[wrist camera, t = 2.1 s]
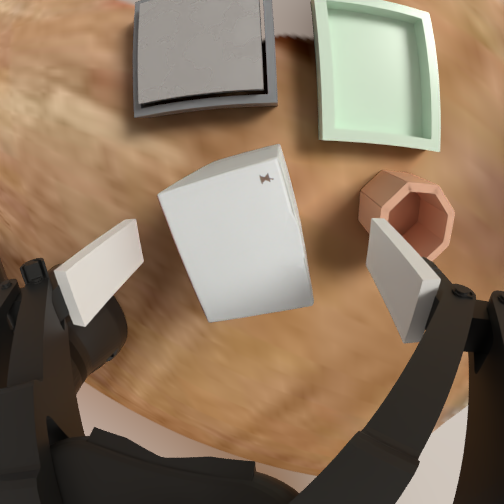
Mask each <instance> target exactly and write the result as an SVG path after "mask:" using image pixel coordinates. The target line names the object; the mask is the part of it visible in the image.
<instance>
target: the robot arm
mask: <svg viewBox="0 0 504 504" xmlns="http://www.w3.org/2000/svg"><path fill="white" fill-rule="evenodd" d="M143 262H144V260H143V255H142V250H141V244H140V239H139V234H138V228H137V222H136V219H125V220H124V221H122V222H121V223H119V224H118V225H116V226H115V227H113V228H112V229H110V230H109V231H107V232H106V233H104V234H103V235H102V236H100V237H99V238H97V239H96V240H94V241H93V242H92V243H90V244H89V245H87V246H86V247H85V248H83V249H82V250H80V251H79V252H78V253H76V254H75V255H74V256H72V257H71V258H70V259H68V260H67V261H66V262H64V263H63V264H58V265H56V266H54V267H52V268H51V269H50V270H49V271H47V269H46V266H45V262H44V259H43V258H36V259H33V260H30V261H28V262H26V263H24V264H23V265H22V266H21V267H20V271H21V273H22V276H23V279H24V282H25V288H20V287H19V285H18V282H17V280H16V279H10V280H8V278H7V275H6V273H5V270H4V267H3V265H2V262H1V259H0V504H395V503H396V502H397V500H398V499H399V497H400V496H401V494H402V493H403V491H404V490H405V488H406V487H407V485H408V484H409V482H410V480H411V479H412V477H413V475H414V474H415V472H416V470H417V468H418V465H419V462H420V461H419V460H418V458H419V456H420V454H421V452H422V450H423V448H424V446H425V444H426V442H427V441H428V439H429V437H430V435H431V433H432V431H433V429H434V426H435V424H436V422H437V420H438V418H439V416H440V413H441V411H442V409H443V406H444V404H445V402H446V399H447V397H448V394H449V392H450V389H451V386H452V384H453V381H454V378H455V375H456V372H457V369H458V366H459V363H460V360H461V357H462V354H463V351H465V352H468V356H469V402H468V420H467V430H466V439H465V447H464V454H463V460H462V466H461V471H460V476H459V481H458V485H457V490H456V494H455V498H454V502H453V504H504V292H503V291H493V293H492V294H491V297H490V299H489V302H487V301H481V300H476V295H475V294H474V292H473V291H472V290H471V289H469V288H468V287H465V286H463V285H459V284H452V283H451V282H450V281H449V280H448V278H447V277H446V276H445V275H444V274H443V273H442V272H441V271H440V269H438V267H437V266H436V265H435V264H434V263H433V262H432V261H430V260H429V259H427V258H425V257H421V256H420V255H419V254H418V253H417V252H416V251H415V250H414V248H413V247H412V246H411V245H410V244H409V243H408V242H407V241H406V240H405V239H404V238H403V237H402V236H401V235H400V234H399V233H398V232H397V231H396V230H395V229H394V228H393V227H392V226H391V225H390V224H389V223H388V222H387V221H386V220H385V219H384V218H371V227H370V236H369V244H368V252H367V259H366V266H367V268H368V270H369V272H370V274H371V276H372V278H373V280H374V282H375V284H376V286H377V288H378V290H379V292H380V294H381V296H382V298H383V300H384V302H385V304H386V306H387V308H388V310H389V312H390V314H391V317H392V319H393V321H394V323H395V325H396V327H397V330H398V332H399V334H400V336H401V339H402V341H403V343H413V342H419V344H418V346H417V348H416V350H415V352H414V353H413V355H412V357H411V359H410V360H409V362H408V364H407V365H406V367H405V369H404V371H403V372H402V374H401V375H400V377H399V379H398V380H397V382H396V383H395V385H394V386H393V388H392V390H391V391H390V393H389V394H388V396H387V397H386V399H385V400H384V401H383V403H382V404H381V406H380V407H379V409H378V410H377V411H376V413H375V414H374V416H373V417H372V418H371V420H370V421H369V422H368V424H367V425H366V426H365V427H364V429H363V430H362V431H358V432H357V433H356V434H355V435H354V436H353V438H352V439H351V440H350V441H349V442H348V443H347V444H346V446H345V447H344V448H343V449H342V450H341V451H340V453H339V454H338V455H337V456H336V457H335V458H334V459H333V460H332V461H331V463H330V464H329V465H328V466H327V467H326V468H325V469H324V470H323V471H322V472H321V473H320V474H319V475H318V476H317V477H316V478H315V479H314V480H313V481H312V482H311V483H310V484H309V485H308V486H307V487H306V488H305V489H304V490H303V491H302V492H301V493H300V494H299V493H298V492H297V491H296V490H295V489H293V488H292V487H290V486H289V485H287V484H285V483H284V482H282V481H280V480H278V479H276V478H273V477H271V476H268V475H266V474H263V473H259V472H256V468H255V461H242V460H232V459H224V458H216V457H193V458H192V457H190V458H164V457H160V456H158V455H156V454H154V453H152V452H150V451H148V450H146V449H145V448H143V447H141V446H139V445H138V444H136V443H134V442H132V441H131V440H129V439H127V438H125V437H122V436H118V435H116V434H113V433H110V432H107V431H103V430H101V429H98V428H96V427H94V429H93V431H92V433H91V435H90V436H85V434H84V431H83V426H82V422H81V418H80V413H79V409H78V403H77V398H76V394H77V392H78V391H79V389H80V387H81V385H82V384H83V383H84V381H85V379H86V378H87V377H88V375H90V374H91V373H92V372H94V371H95V370H97V369H98V368H100V367H101V366H102V365H103V364H105V363H106V362H107V361H110V360H111V359H113V358H114V357H115V356H116V355H117V354H118V353H119V351H120V350H121V348H122V346H123V345H124V343H125V341H126V338H127V324H126V320H125V317H124V314H123V312H122V309H121V307H120V306H119V304H118V302H117V301H116V299H115V298H114V296H113V295H114V294H115V292H116V291H117V290H118V289H119V288H120V287H121V286H122V285H123V284H124V283H125V281H126V280H127V279H128V278H129V277H130V276H131V275H132V274H133V273H134V272H135V271H136V270H137V269H138V267H139V266H140V265H141V264H142V263H143ZM425 330H426V331H425ZM424 331H425V333H424ZM423 334H424V335H423ZM422 336H423V337H422Z"/></svg>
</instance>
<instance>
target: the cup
mask: <svg viewBox="0 0 504 504" xmlns="http://www.w3.org/2000/svg"><path fill="white" fill-rule="evenodd" d="M454 212H455V211H454V210H453V208H452V206H451V204H450V203H449V201H448V199H447V198H446V196H445V194H444V193H443V191H442V189H441V188H440V186H439V185H437V184H435V183H432V182H430V181H428V180H425V179H423V178H421V177H418V176H416V175H413V174H411V173H408V172H399V171H387V170H381V171H380V172H379V173H378V174H377V175H376V176H375V177H374V178H373V179H372V180H371V181H370V182H368V183H367V184H366V185H365V186H364V187H363V188H362V189H361V191H360V201H359V215H358V221H359V222H360V223H361V224H362V226H363V227H364V228H365V229H366V231H367V232H368V233H369V235H370V227H371V218H384V219H385V220H386V221H387V222H388V223H389V224H390V225H391V226H392V227H393V228H394V229H395V230H396V231H397V232H398V233H399V234H400V235H401V236H402V237H403V238H404V239H405V240H406V241H407V242H408V243H409V244H410V245H411V246H412V247H413V248H414V250H415V251H416V252H417V253H418V254H419V255H420V256H421V257H425V258H427V259H429V260H430V261H433V260H434V259H435V258H436V257H437V256H438V255H439V254H440V253H441V252H443V251H444V250H445V249H446V248H447V247H448V245H449V242H450V237H451V232H452V227H453V221H454V215H455V213H454Z"/></svg>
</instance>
